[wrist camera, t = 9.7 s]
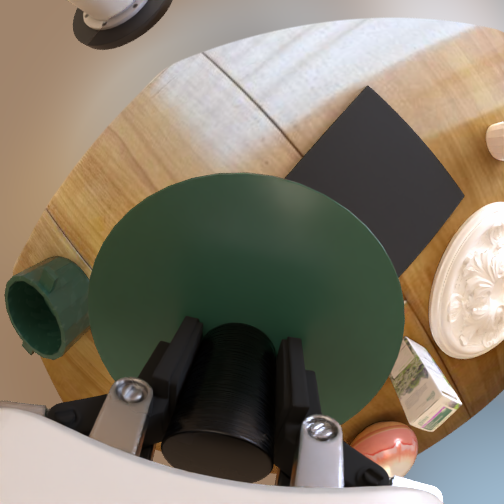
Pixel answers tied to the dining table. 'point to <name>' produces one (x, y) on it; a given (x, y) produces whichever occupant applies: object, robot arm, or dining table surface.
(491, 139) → the white lidded cup
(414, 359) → the syrup box
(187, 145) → the dining table surface
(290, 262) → the lid
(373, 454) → the vase
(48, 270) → the pot
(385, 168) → the mat
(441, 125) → the dining table surface
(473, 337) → the ceiling medallion
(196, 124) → the dining table surface
